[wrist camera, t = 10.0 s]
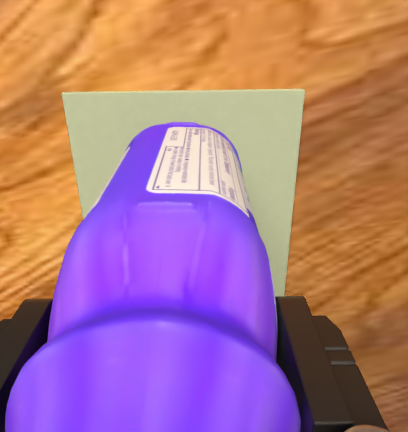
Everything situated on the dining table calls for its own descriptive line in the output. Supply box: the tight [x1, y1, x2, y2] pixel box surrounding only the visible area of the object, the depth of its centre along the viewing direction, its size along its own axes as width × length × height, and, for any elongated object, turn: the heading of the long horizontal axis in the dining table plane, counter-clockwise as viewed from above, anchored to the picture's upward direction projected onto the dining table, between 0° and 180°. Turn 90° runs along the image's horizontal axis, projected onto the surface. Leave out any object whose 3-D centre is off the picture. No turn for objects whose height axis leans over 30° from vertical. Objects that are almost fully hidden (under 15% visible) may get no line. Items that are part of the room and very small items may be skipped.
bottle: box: [5, 122, 301, 432], centre depth 11 cm, size 7×6×17 cm
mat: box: [62, 89, 305, 296], centre depth 27 cm, size 14×27×1 cm, turn 1°
